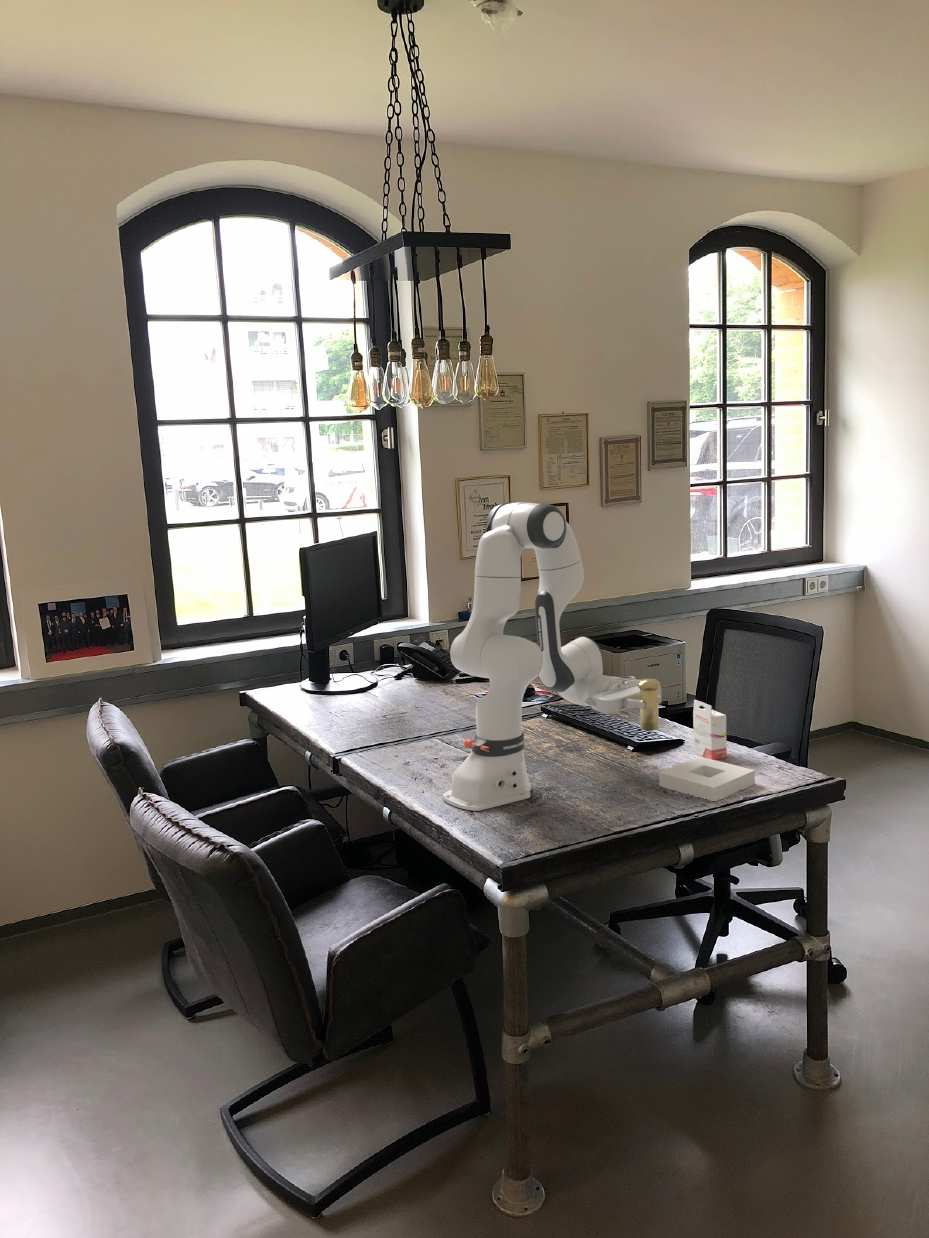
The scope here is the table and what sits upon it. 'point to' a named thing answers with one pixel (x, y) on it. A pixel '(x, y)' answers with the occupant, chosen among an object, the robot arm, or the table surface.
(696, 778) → the socket block
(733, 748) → the table surface
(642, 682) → the brass fitting
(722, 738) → the ink cartridge box
